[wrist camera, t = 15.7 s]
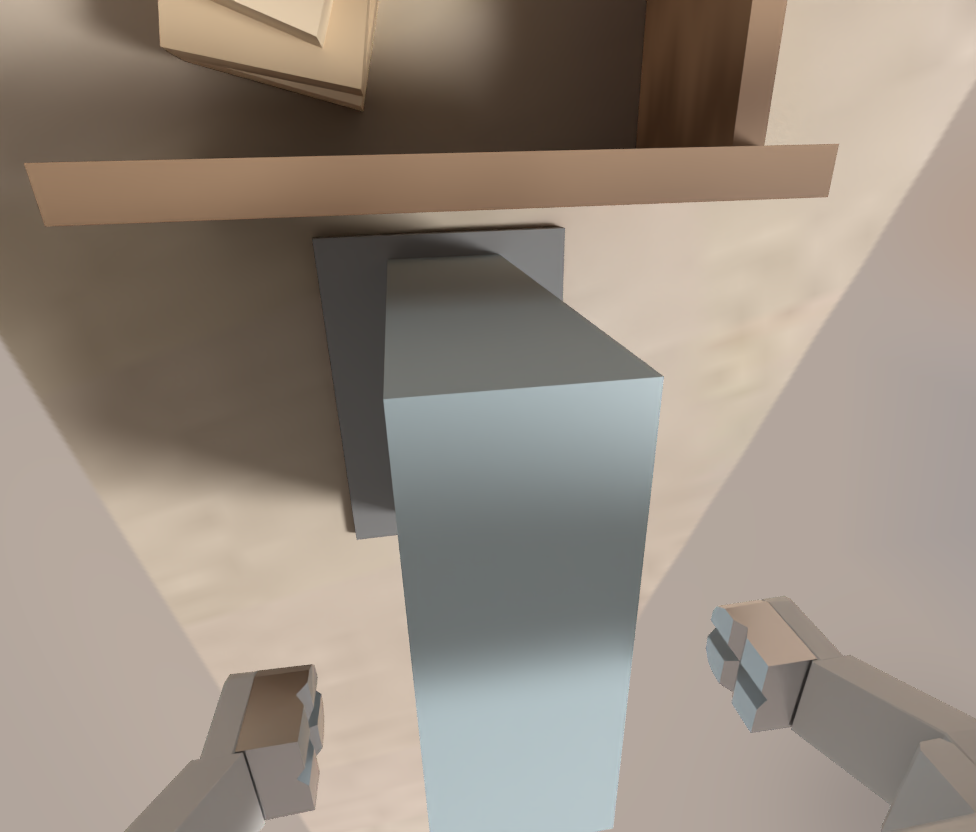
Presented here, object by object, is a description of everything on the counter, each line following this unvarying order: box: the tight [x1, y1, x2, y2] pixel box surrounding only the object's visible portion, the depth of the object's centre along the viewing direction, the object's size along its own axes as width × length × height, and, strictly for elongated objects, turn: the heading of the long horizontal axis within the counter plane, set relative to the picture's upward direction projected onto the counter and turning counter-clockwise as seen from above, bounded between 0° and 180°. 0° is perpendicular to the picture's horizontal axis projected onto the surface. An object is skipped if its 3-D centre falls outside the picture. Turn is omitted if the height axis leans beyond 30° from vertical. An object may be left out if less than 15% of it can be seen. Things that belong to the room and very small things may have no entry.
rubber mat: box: [312, 227, 565, 540], centre depth 25 cm, size 14×10×1 cm
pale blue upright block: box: [383, 254, 664, 832], centre depth 18 cm, size 12×4×15 cm, turn 1°
